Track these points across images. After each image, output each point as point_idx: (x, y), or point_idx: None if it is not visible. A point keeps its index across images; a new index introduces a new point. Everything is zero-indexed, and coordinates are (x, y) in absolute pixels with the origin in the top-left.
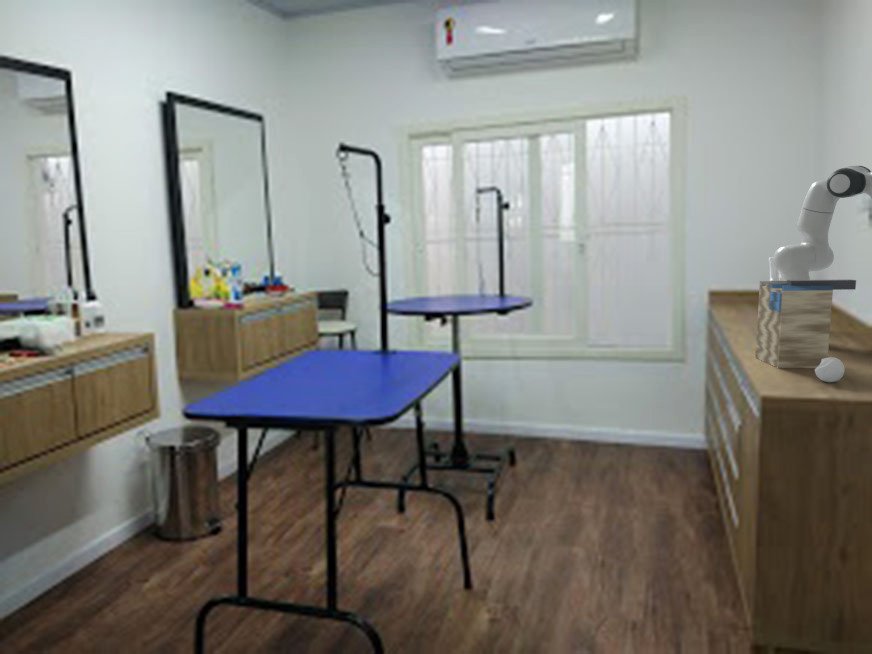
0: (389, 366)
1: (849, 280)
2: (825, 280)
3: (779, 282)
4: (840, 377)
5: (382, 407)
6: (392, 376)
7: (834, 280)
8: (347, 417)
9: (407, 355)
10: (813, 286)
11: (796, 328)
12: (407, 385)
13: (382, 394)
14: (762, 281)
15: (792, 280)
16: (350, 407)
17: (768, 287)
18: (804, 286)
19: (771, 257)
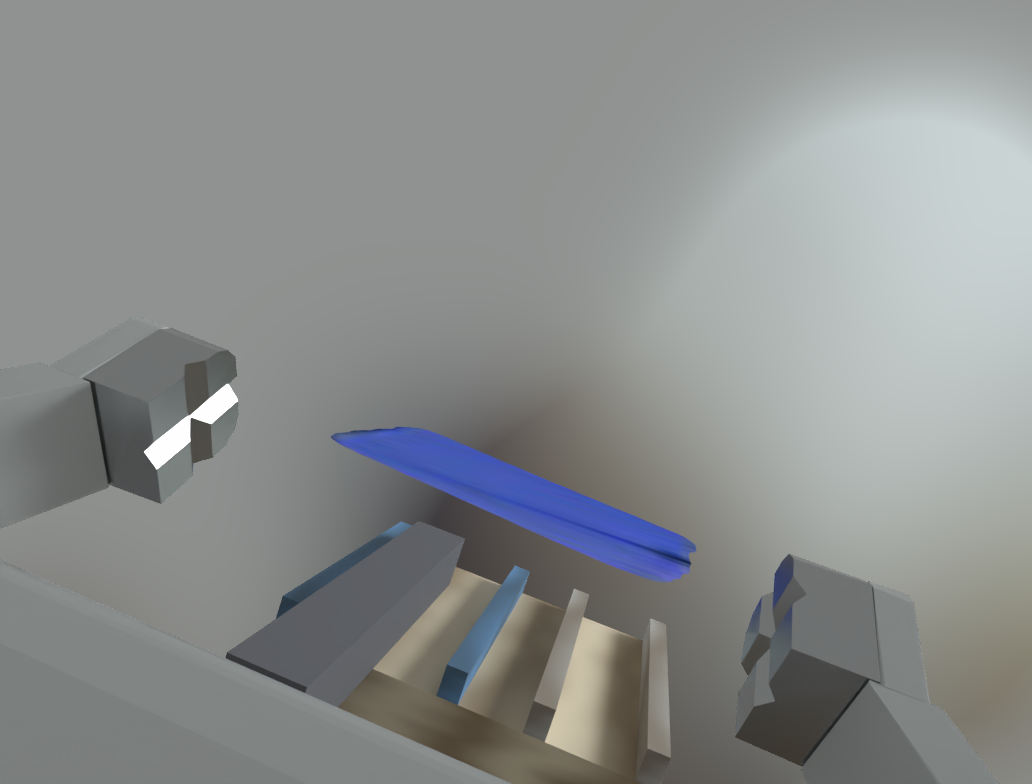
0: (573, 524)
1: (260, 630)
2: (354, 576)
3: (573, 613)
4: None
5: (367, 450)
6: (510, 503)
7: (321, 592)
8: (346, 434)
9: (651, 559)
10: (340, 563)
11: None
12: (456, 489)
13: (422, 469)
14: (649, 621)
15: (437, 534)
16: (381, 446)
17: (550, 605)
18: (361, 549)
19: None
